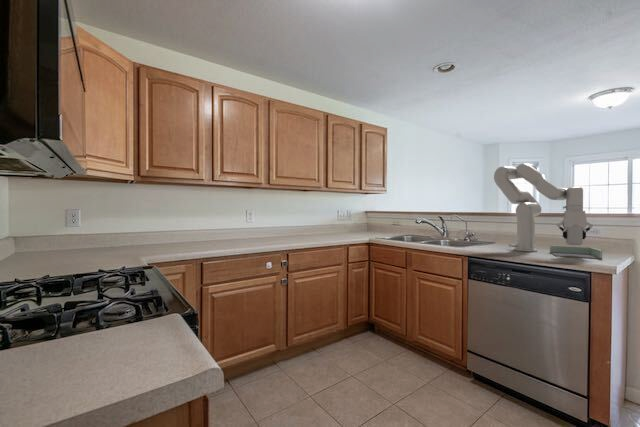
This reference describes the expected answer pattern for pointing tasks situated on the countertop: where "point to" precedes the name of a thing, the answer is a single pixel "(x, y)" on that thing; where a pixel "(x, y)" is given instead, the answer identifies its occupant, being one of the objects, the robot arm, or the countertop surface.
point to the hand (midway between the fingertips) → (574, 238)
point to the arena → (576, 252)
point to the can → (574, 235)
